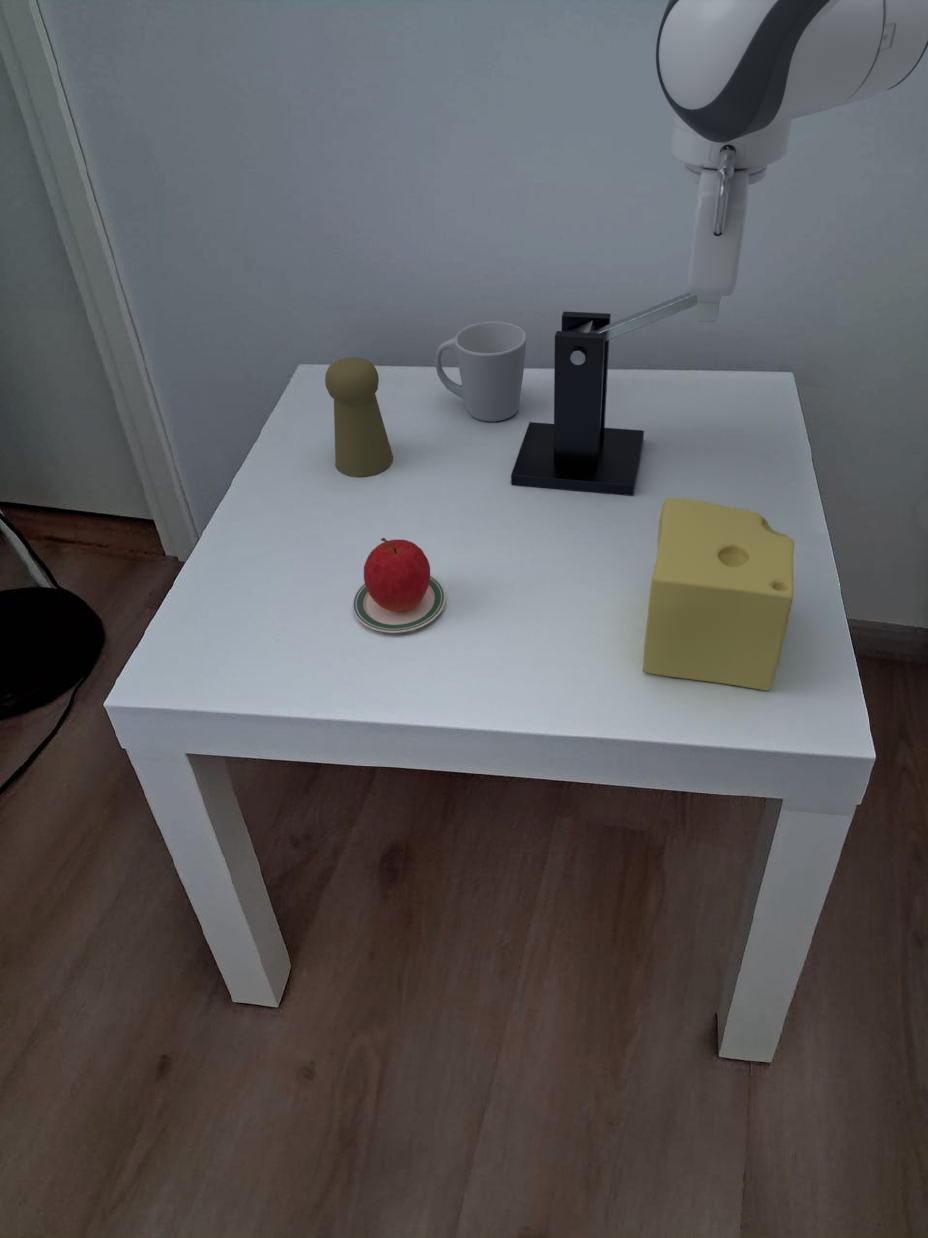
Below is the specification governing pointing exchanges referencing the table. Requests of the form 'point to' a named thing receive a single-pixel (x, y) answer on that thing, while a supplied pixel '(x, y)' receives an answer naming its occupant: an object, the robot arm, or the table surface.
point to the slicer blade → (641, 317)
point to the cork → (357, 418)
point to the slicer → (579, 422)
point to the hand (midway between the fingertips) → (707, 301)
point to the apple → (398, 589)
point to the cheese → (718, 595)
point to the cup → (487, 368)
